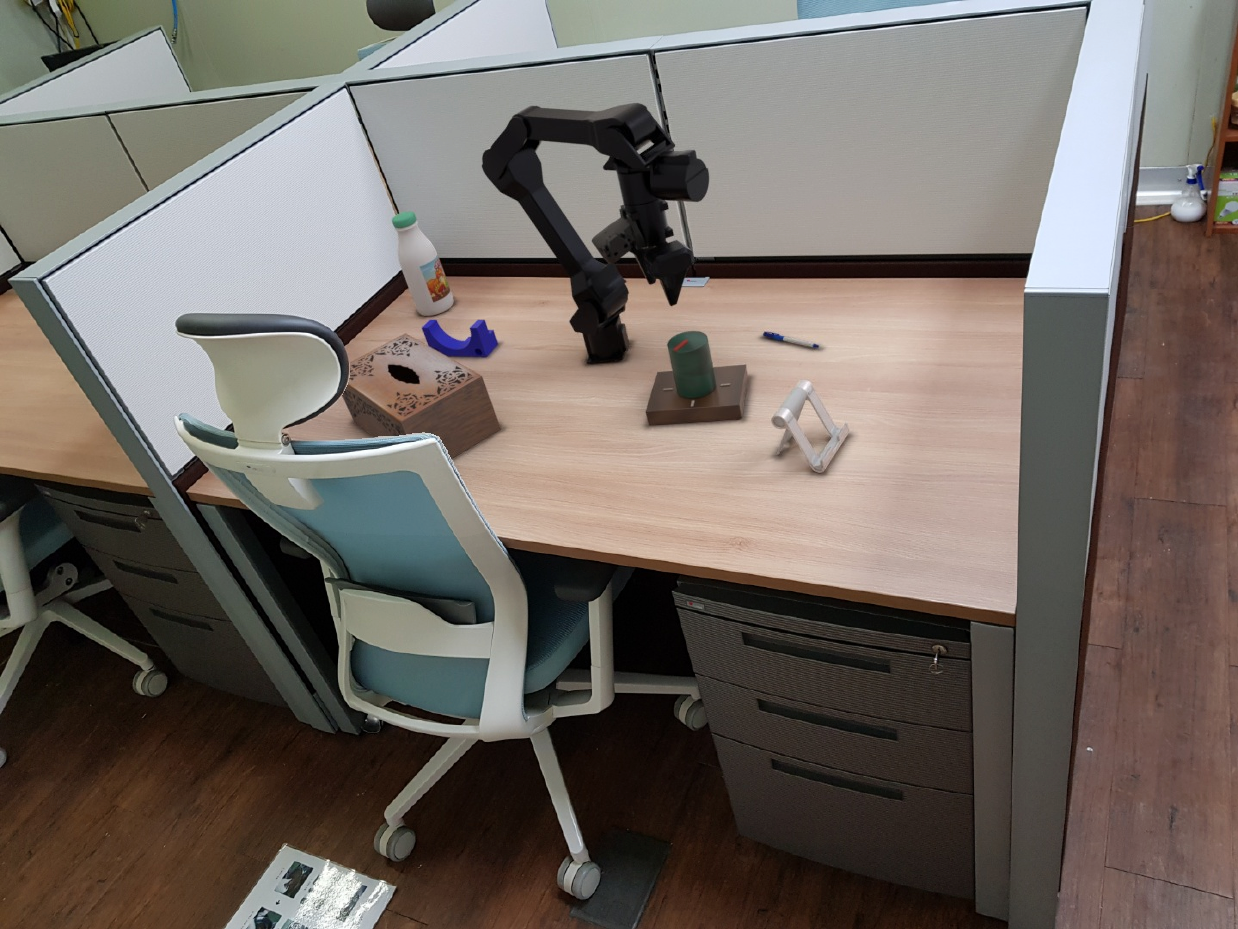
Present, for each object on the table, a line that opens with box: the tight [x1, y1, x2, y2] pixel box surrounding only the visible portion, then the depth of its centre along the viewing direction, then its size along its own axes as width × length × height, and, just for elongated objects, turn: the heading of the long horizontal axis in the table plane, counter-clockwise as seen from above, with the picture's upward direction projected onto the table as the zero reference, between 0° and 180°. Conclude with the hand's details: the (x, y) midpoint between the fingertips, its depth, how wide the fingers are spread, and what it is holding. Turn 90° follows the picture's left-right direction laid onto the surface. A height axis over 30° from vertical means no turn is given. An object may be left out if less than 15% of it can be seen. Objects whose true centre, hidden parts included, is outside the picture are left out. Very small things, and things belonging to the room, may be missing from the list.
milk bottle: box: [391, 210, 455, 317], centre depth 184 cm, size 8×8×20 cm
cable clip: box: [421, 319, 499, 358], centre depth 170 cm, size 12×4×6 cm, turn 68°
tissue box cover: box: [341, 332, 502, 459], centre depth 150 cm, size 26×14×10 cm, turn 39°
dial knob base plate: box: [645, 364, 749, 426], centre depth 140 cm, size 14×11×3 cm
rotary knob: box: [666, 330, 716, 398], centre depth 137 cm, size 6×6×8 cm
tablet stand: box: [770, 379, 850, 474], centre depth 123 cm, size 9×8×8 cm
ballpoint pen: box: [762, 331, 820, 349], centre depth 148 cm, size 10×1×1 cm, turn 49°
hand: (662, 293), depth 143 cm, fingers open, 9 cm apart
